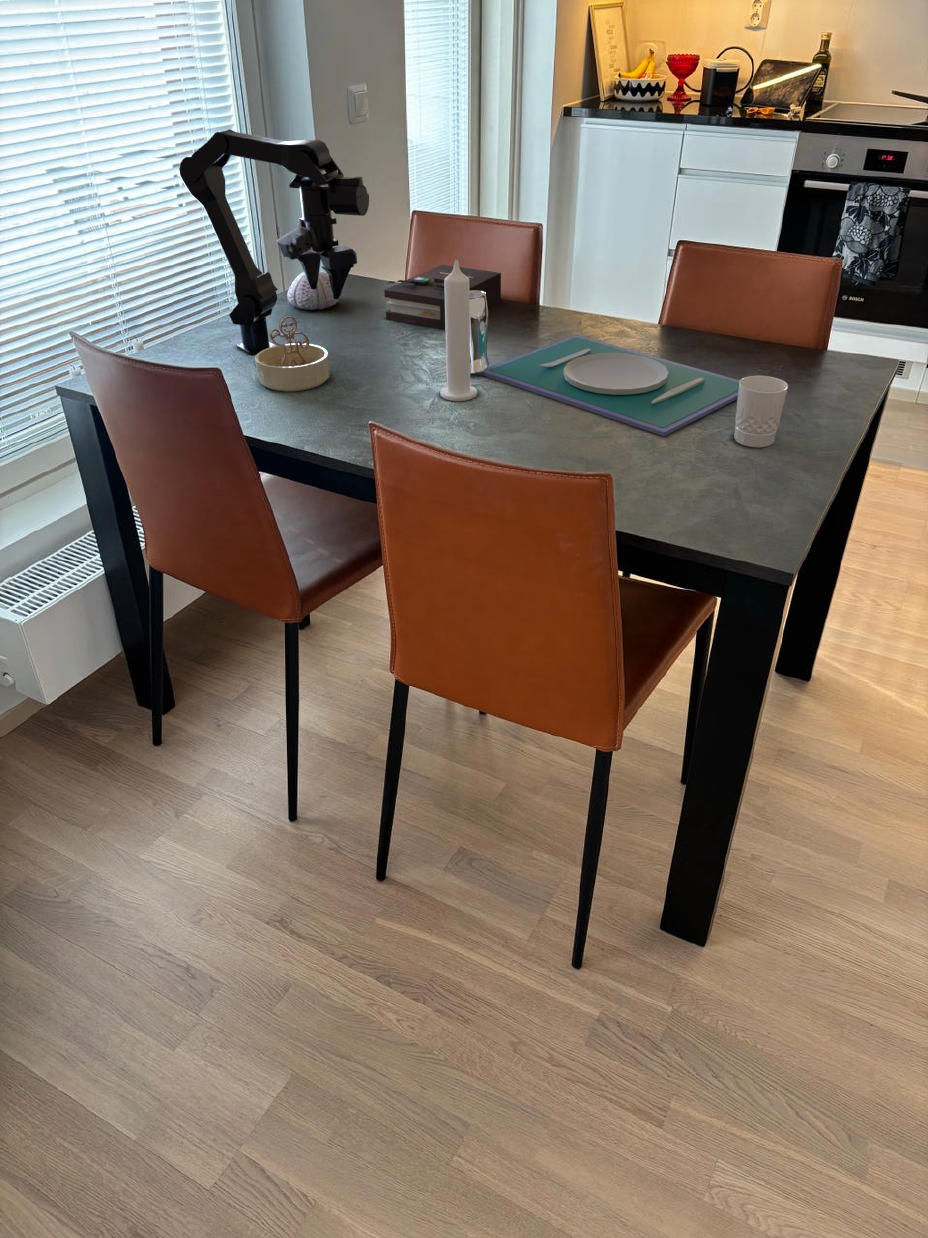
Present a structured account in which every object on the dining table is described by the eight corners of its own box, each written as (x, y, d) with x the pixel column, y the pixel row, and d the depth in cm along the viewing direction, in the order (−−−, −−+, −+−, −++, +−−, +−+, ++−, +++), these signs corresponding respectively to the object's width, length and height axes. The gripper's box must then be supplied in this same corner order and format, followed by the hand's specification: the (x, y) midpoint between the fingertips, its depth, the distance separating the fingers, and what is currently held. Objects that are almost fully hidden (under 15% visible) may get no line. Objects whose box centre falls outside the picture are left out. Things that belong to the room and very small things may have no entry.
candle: (481, 389, 182) (481, 256, 168) (470, 403, 177) (468, 266, 163) (447, 386, 184) (444, 253, 170) (435, 399, 179) (430, 263, 165)
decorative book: (510, 267, 228) (444, 299, 207) (509, 298, 232) (445, 333, 211) (442, 258, 236) (373, 287, 215) (443, 288, 240) (376, 320, 219)
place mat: (479, 373, 190) (479, 363, 188) (576, 337, 207) (576, 327, 206) (663, 436, 163) (665, 424, 162) (756, 388, 180) (758, 377, 179)
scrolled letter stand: (309, 368, 192) (302, 309, 185) (318, 373, 189) (312, 314, 183) (270, 378, 188) (261, 318, 181) (279, 384, 185) (271, 323, 178)
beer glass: (488, 374, 187) (483, 297, 179) (454, 375, 189) (447, 298, 181) (494, 364, 193) (489, 289, 185) (461, 365, 194) (455, 290, 187)
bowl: (246, 377, 190) (243, 353, 187) (308, 362, 197) (305, 338, 194) (279, 398, 181) (276, 372, 178) (343, 381, 188) (340, 356, 185)
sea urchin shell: (318, 315, 223) (315, 281, 219) (276, 307, 230) (272, 273, 225) (353, 301, 232) (351, 268, 228) (312, 293, 239) (308, 261, 234)
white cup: (724, 431, 164) (732, 376, 159) (768, 429, 165) (778, 374, 159) (739, 450, 158) (748, 393, 152) (784, 448, 158) (795, 391, 153)
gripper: (258, 210, 186) (268, 291, 195) (303, 227, 174) (313, 311, 183) (307, 203, 191) (315, 281, 200) (355, 218, 179) (361, 301, 188)
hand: (324, 293), depth 193 cm, fingers open, 9 cm apart
